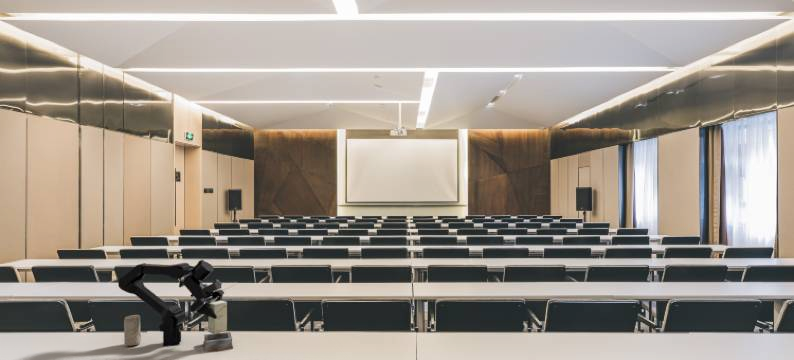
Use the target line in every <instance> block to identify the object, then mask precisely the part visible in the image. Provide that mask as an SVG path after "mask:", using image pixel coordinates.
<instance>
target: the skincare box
mask: <svg viewBox="0 0 794 360" xmlns="http://www.w3.org/2000/svg"><path fill="white" fill-rule="evenodd" d="M210 307H211V309H212V310H213V311H214V313H215V314H216V316H217V318H216V319H214V318H211V317H209V316H207V317H208V333H209V334H216V333H223V332H228V326H227V325H228V301H225V300H222V301H216V302H212V303H210Z"/></svg>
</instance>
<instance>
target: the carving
mask: <svg viewBox="0 0 794 360" xmlns="http://www.w3.org/2000/svg"><path fill="white" fill-rule="evenodd" d="M123 329H124V330H123V332H124V333H123V337H124V339H123V340H124V341H123V342H124V345H125V346H126V347H131V346H136V345H140V344H141V341H142V335H141V316H140V315H139V314H132V315H128V316H125V318H124V320H123Z"/></svg>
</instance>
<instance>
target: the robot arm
mask: <svg viewBox="0 0 794 360" xmlns="http://www.w3.org/2000/svg"><path fill="white" fill-rule="evenodd" d="M214 270H215V269H214V267H213V265H212V264H211V263H209V262H207V261H205V260H204V259H200V260H199V261H198V262H197V264H196V265H195V266H193V265H191V264H189V263H187V262H181V263H180V262H179V263H175V264H159V263H157V264H156V263H144V262H143V263H140V264H139V263H138V264H137V265H136V266H134V267H133V269H131V270H129V272H127V273H126V274H124V276H121V277H120V278H119V279H118V283H117V284H118V288H119V289H121V291H123V292H125V293H128V294H131V295H135V296H136V297H138V298H139V299H140V300H141V301H142V302H144V303H145V304H146V305H148V306H149V307H150V308H151V309H152V310H154V311H156V313H157V314H158V315H160V318H161V320H162V323H161V324H160V325H159V326H158V328H159V331H160V332H162V336H163V337H162V338H163V339H162V347H169V346H179V345H180V344H181V342H182V330H180V328H182V327H183V324H184V323H185V321H186V320H187V316H186V315H187V314H186V312H185V311H184V310H185V309H183V308H181V307H180V306H179V305H178V304H175V305H169V304H168V303H166V302H165V301H164V300H163V299H161V298H160V297H159V296H157V294H155V293H154V292H153V291H152V290H150V289H149V288H148V287H146V285H145V283H144V281H143V280H142V279H144V277H145V275H159V276H162V275H164V276H166V277H167V276H168V277H169V278H172V279H176V280H179V279H181V280H179V283H178V288H183V287H185V288H186V289H187V290H188V291H189V293H190V297H191V298H193V297H194V298H195V301H194V302H193V303H192V304H191V305H190V306H189V311H191V313H192V314H194V313H197V314H201V315H204V316H206V317H208V316H209V317H211V318H214V319H216V318H217V316H216V314H215V313H214V311H213V310H212V309H211V307H210V303H212V302H216V301H223V296H224V294H225V292H224V290H223V288H222V285H223V283H222V282H221V281H220V280H219V279H214V280H213V281H212V283H211V284H207V283H204V284H203V282H202V281H204V280H205V279H207V277H209V276H210V275H211V274H212V272H213V271H214ZM183 278H184V279H183Z"/></svg>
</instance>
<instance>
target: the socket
mask: <svg viewBox="0 0 794 360" xmlns="http://www.w3.org/2000/svg"><path fill="white" fill-rule="evenodd" d="M203 337H204V338H203V352H204V353H208V352H209V353H210V352H216V351H218V352H219V351H226V350H233V349H234V346H233V337H232V333H231V331H224V332H220V333H216V334H213V333H207V334H205V333H204V334H203Z"/></svg>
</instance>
